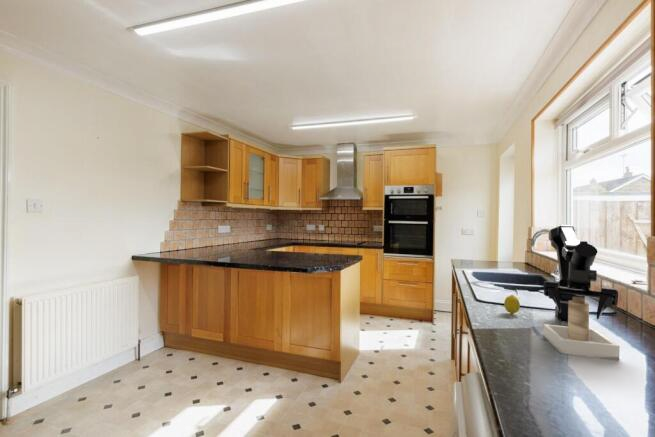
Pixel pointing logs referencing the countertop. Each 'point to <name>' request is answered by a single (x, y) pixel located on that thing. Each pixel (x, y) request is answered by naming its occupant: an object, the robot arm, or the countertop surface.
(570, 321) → the pepper mill
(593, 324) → the countertop surface
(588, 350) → the bin
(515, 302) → the lemon
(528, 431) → the countertop surface
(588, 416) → the countertop surface
